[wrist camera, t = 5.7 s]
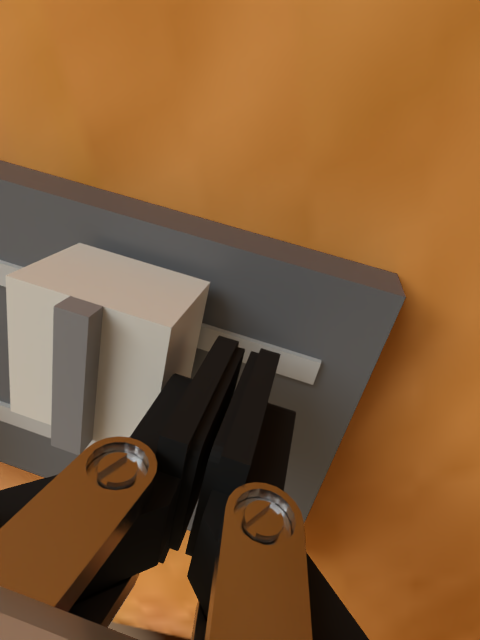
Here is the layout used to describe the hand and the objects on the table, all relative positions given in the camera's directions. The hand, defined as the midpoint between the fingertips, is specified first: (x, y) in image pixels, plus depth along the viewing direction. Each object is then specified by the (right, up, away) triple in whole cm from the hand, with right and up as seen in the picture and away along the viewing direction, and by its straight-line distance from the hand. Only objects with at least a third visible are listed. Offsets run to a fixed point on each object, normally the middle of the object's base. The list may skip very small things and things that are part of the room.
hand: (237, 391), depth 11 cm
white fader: (-3, +2, +2) cm, 4 cm away
